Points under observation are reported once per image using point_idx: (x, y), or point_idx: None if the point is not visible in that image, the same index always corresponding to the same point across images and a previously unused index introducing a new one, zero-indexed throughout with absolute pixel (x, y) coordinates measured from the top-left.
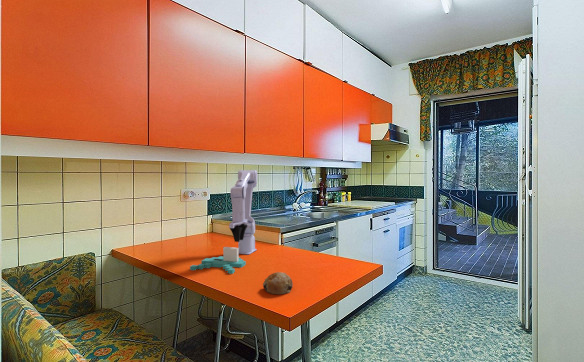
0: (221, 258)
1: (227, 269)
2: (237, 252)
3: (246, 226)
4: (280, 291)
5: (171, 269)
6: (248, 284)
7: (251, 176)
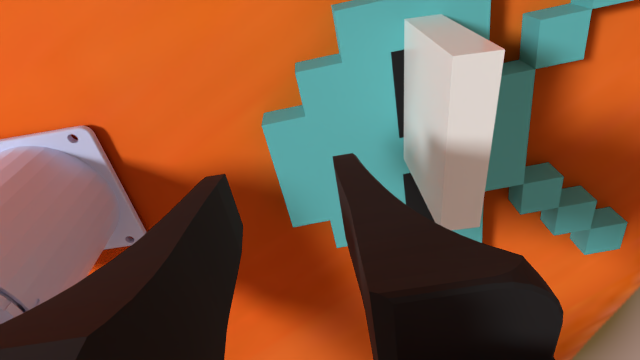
0: None
1: None
2: (462, 37)
3: (34, 335)
4: None
5: (598, 308)
6: None
7: None
